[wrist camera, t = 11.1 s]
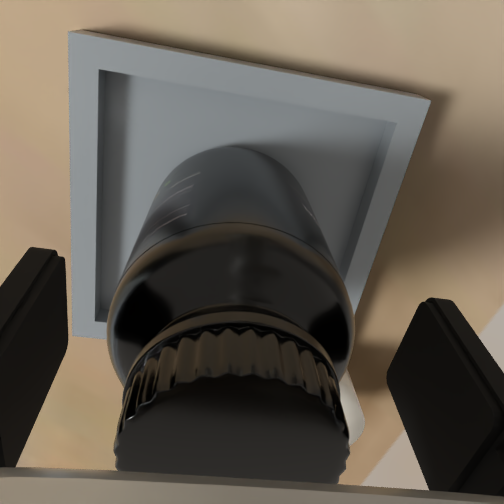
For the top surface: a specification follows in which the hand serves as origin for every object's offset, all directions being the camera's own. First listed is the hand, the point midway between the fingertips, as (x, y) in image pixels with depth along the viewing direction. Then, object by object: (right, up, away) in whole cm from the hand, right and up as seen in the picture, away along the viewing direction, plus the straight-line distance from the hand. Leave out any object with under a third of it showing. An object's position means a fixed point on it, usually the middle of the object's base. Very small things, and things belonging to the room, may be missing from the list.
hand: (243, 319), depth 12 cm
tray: (-1, +3, +8) cm, 9 cm away
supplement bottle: (-1, +3, +8) cm, 9 cm away
